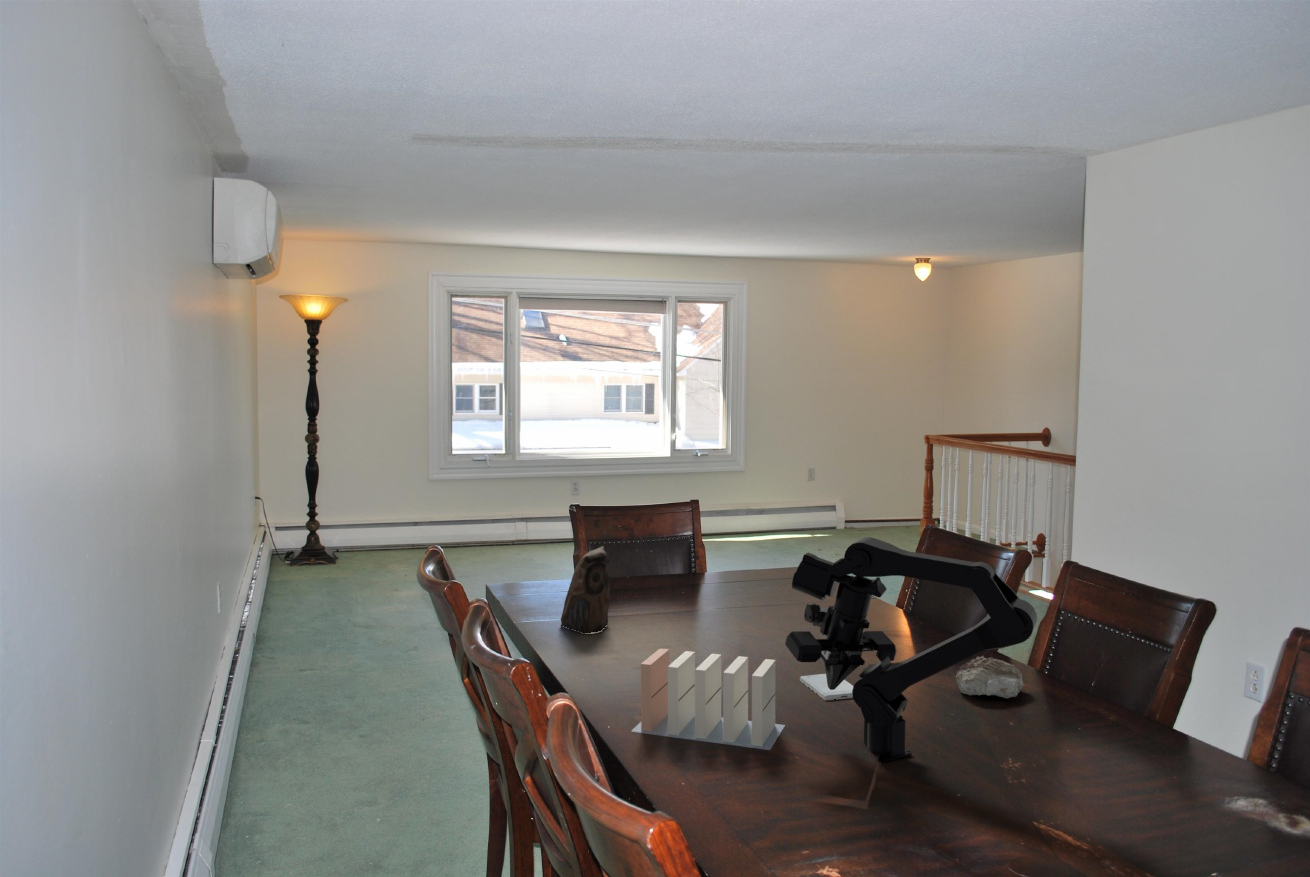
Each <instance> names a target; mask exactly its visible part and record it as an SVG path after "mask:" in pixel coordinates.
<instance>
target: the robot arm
mask: <svg viewBox="0 0 1310 877" xmlns="http://www.w3.org/2000/svg"><path fill="white" fill-rule="evenodd" d="M802 555H803V557H802V559H801V561H800V563H799V564H798V567H797V569H796V571H795V572H794V574H793V577H792V581H791V588H792V590H795V591H797V592H800V593H802V594H805V595H808V596H811V597H812V598H816V599H818V600H821V601H825V600H826V599H827V598H828V597H829V598H833V596H834V594H836V595H835V599H834V603H833V605H832V606H831V605H829V606H828V607H825V606H824V607H821V606H820V605H819V604H817V603H806V605H805V610H804V612H803V613H804V616H803V618H804V620H805V622H807V623H810V624H812V626H813V627H818V628H820V630H819V632H820V634H822V635H824V636H825V639H824V638H816V637H815V636H814V635H813V634H812V632H811V631H809V630H808V631H801V630H799V631H790V632H789V633H788V634H787V636H786V639H785V642H784V645H785V646H786V648H787V649H788V650H789V651H790V653H791V654H792V656H793V657H794V658H795V659H796V661H798V662H800V663H816V662H818V660H820V659H822V661H823V663H824V668H825V674H826V677H827V685H828V688H829V689H830V690H834V689H836V687H837V686H838V685H839V684H840V683H841V682H842V681H843V680H846V679H847V677H849V676H850V674H852V673H853V672H854V671H855V670H856V669H858V668H859V667H860V666H864V665H865V663H866V661H865V660H864V658H863V657H862V656H863V652H874V651H876V653H875V656H876V658H877V659H878V660H879V662H877V663H871V664H869V663H868V665H867V666H866V667H865V668H864V669H863V670H862V672H861V673H860V674H859V675H858V676H859V678H858V679H857V681H856V682H855V683H854V684H853V690H852V694H853V698H852V699H853V701H854V703H855V704H856V705H857V706H858V707H859V708H860V710H861V713H862V717H863V719H864V720H863V721H864V722H863V731H864V732H863V736H864V737H863V743H864V745H865V746H866V747H867V749H868V750H869V751H870V752H872V753H873V754H876V755H879V756H878V759H877V760H878V761H880V762H883V763H888V762H891V761H895V760H899V759H902V758H906V757H908V756H912V755H913V751H911V750H910V749H907V748H906V719H904V717H903V715H902V713H903V712H905V710H906V708H907V706H908V703H909V699H908V698H907V697H906V696H905V694H903V693H904V692H905V691H906V690H907V689H908V688H909V687H911V686H913V685H915V684H918V683H920V682H922V681H924V680H926V679H928V678H930V677H932V676H934V675H936V674H938V673H940V672H943V671H945V670H947V669H949V668H951V667H954V666H955V665H957V664H959V663H961V662H964V661H966V660H967V659H970V658H971V657H972V658H973V657H974V656H977V655H978V654H980V653H982V652H985V651H990V650H997V649H998V650H999V649H1004V648H1008V647H1012V646H1016V645H1019V644H1022V643H1025V642H1026V641H1027V640H1029V639H1030V637H1031V636H1032V634H1033V633H1034V629H1035V627H1036V624H1037V621H1038V616H1037V612H1036V610H1035V608H1034V606H1033V605H1032V604H1031V603H1030V602H1028V601H1027V600H1025V599H1021V598H1020V597H1019V596H1018V595H1017V593H1016V592H1015V591H1014V590H1013V589H1012V587H1010V586H1009V585H1008V584H1007V583H1006V582H1005V581H1004V580H1003V578H1001V577H1000V576H999V575H998V574H997V572H995V570H994V568H993V567H992V565H990V564H989V563H986V562H984V561H977V562H975V561H969V560H963V559H958V558H951V557H945V556H940V555H932V554H928V553H927V554H926V553H923V552H922V553H920V552H915V551H909V550H906V549H903V548H899V547H898V546H895V545H894V544H892V543H889V542H886V541H884V540H881V539H878V538H875V537H871V536H870V537H867V536H866V537H865V536H864V537H862V538H860V539H858V540H857V541H855V542H853V543H852V544H850V545H849V546H848V547H847V548H846V550H845V551H844V556H843V558H842V557H841V558H839V559H836V561H835V562H832V561H830V560H827V559H824V558H821V557H818V556H817V555H816V554H813V553H810V552H806V553H804V554H802ZM892 576H894V577H895V576H896V577H898V576H900V577H906V578H911V579H917V580H922V581H928V582H934V583H939V584H940V583H941V584H944V585H945V584H946V585H951V586H955V587H956V586H957V587H962V588H968V589H971V590H972V591H973V593H974V594H975V595H976V597H977V598H978V600H979V602H980V604H981V605H982V607H983V608H984V610H985V612H986V613H987V615H986V616H985V617H984V618H983V619H982V620H981V621H979V622H978V623H976V624H975V625H974V626H972V627H970V628H967V629H966V630H963V631H962V632H960V633H957V634H955V635H954V636H952V637H949V638H948V639H946V640H944V641H941V642H939V643H937V644H936V645H933V646H931V647H930V648H927V649H926V650H925V649H924V650H922V651H921V652H919V653H917V654H914V655H913V656H911V657H908V658H907V659H904V660H903V661H897V662H894V661H895V659H896V656H897V651H898V650H897V646H896V644H895V643H894V642H893V641H892V640H891V638H889V637H888V636H887V634H886V633H885V632H884V631H882V630H870V631H869V630H866V631H864V629H869V628H870V622H869V621H868V620H867V617H868V613H869V609H870V605H871V601H872V597H876V598H881V597H883V595H884V594H885V593H886V591H887V590H888V589H887V587H886V585H885V584H884V583H883V582H882V580H881V578H882V577H892ZM880 577H881V578H880ZM871 578H873V579H871ZM836 591H837V592H836Z"/></svg>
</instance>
